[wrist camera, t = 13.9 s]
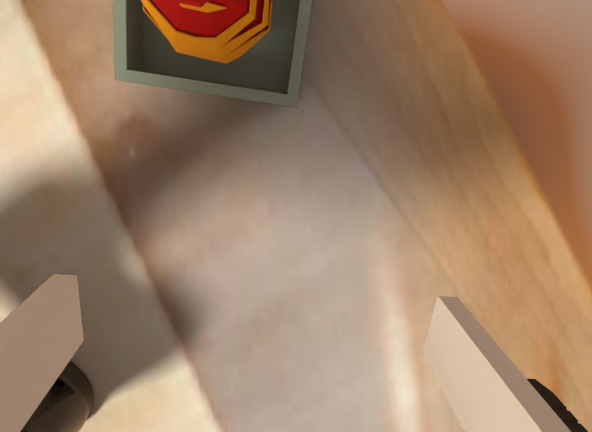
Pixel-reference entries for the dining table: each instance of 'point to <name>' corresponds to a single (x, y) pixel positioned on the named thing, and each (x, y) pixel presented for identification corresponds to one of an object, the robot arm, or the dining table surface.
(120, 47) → the bin
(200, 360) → the dining table surface
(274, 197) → the dining table surface
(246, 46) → the potion bottle
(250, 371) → the dining table surface
